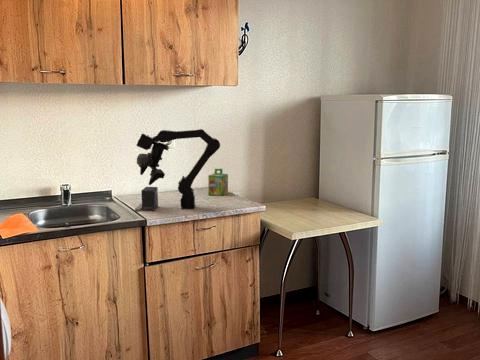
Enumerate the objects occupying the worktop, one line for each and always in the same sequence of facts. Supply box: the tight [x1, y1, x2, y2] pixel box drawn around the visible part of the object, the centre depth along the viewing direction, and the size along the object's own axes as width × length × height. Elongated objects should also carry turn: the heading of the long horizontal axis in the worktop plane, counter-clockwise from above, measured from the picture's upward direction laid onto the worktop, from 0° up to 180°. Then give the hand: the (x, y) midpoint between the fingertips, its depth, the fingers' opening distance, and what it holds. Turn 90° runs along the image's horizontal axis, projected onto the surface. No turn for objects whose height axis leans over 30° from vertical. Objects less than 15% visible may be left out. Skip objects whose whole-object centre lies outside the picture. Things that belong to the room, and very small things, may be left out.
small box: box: [140, 186, 159, 212], centre depth 234 cm, size 11×6×10 cm, turn 179°
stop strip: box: [134, 203, 142, 212], centre depth 235 cm, size 2×12×1 cm, turn 178°
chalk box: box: [207, 168, 229, 197], centre depth 269 cm, size 9×9×15 cm
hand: (145, 179), depth 237 cm, fingers open, 9 cm apart
